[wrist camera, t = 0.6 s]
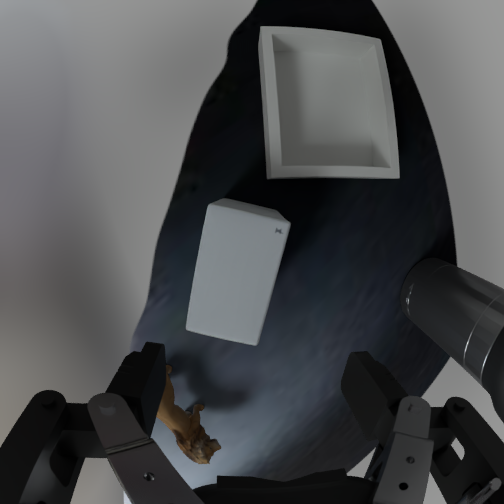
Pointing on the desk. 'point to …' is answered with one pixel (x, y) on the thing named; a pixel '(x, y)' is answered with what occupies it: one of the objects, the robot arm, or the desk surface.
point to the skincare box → (236, 270)
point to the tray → (326, 105)
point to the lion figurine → (186, 426)
